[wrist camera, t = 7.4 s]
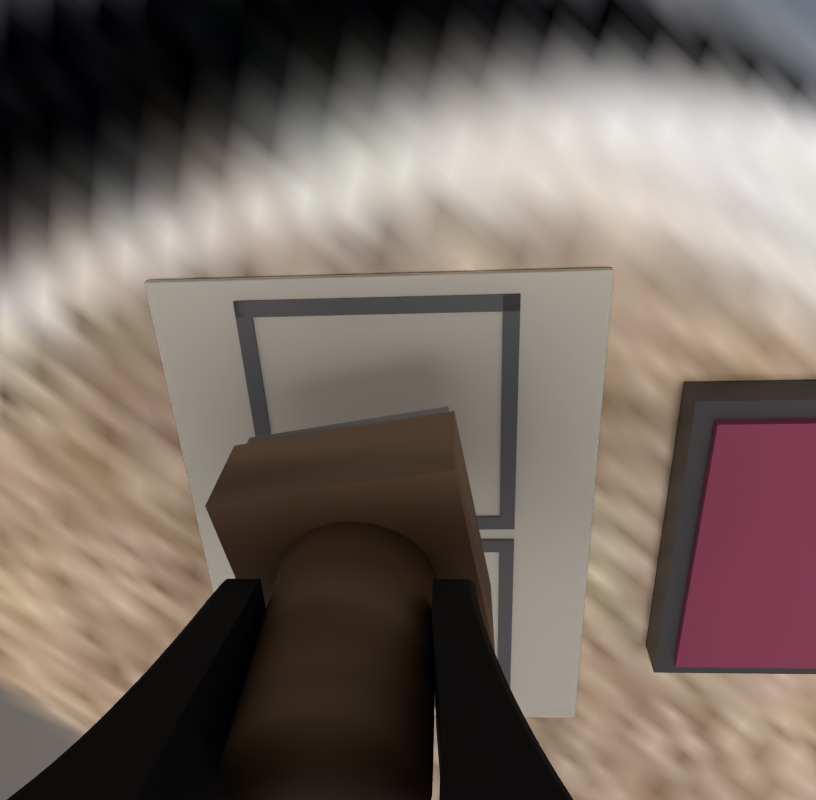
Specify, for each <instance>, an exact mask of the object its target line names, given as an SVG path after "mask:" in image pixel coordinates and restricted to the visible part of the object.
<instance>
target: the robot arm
mask: <svg viewBox="0 0 816 800" xmlns="http://www.w3.org/2000/svg"><path fill="white" fill-rule="evenodd" d="M265 612H266V607H265V601H264V596H263V590H262V585H261V579H226V580H225V581H224V582H223V583H222V584H221V585H220V586H219V587H218V588H217V590H216V591H215V592H214V593H213V594H212V596H211V597H210V598H209V599H208V600H207V602H206V603H205V604H204V605H203V607H202V608H201V609H200V610H199V611H198V613H197V614H196V615H195V616H194V617H193V619H192V620H191V621H190V622H189V623H188V625H187V626H186V627H185V628H184V629H183V631H182V632H181V633H180V634H179V635H178V636H177V638H176V639H175V640H174V641H173V642H172V643H171V644H170V646H169V647H168V648H167V649H166V650H165V651H164V652H163V654H162V655H161V656H160V657H159V658H158V659H157V660H156V661H155V663H154V664H153V665H152V666H151V667H150V668H149V669H148V670H147V672H146V673H145V674H144V675H143V676H142V677H141V678H140V679H139V680H138V681H137V682H136V683H135V684H134V685H133V686H132V687H131V688H130V689H129V690H128V691H127V693H126V694H125V695H124V696H123V697H122V698H121V699H120V700H119V701H118V702H117V703H116V704H115V705H114V706H113V707H112V708H111V709H110V710H109V711H108V712H107V713H106V714H105V715H104V716H103V717H102V718H101V719H100V720H99V721H98V722H97V723H96V724H95V725H94V726H93V727H92V728H91V729H90V730H89V731H87V732H86V733H85V734H84V735H83V736H82V737H81V738H80V739H79V740H78V741H77V742H76V743H74V744H73V745H72V746H71V747H70V748H69V749H68V750H67V751H65V752H64V753H63V754H62V755H61V756H60V757H59V758H58V759H57V760H55V761H54V762H53V763H52V764H51V765H50V766H49V767H47V768H46V769H45V770H44V771H42V772H41V773H40V774H39V775H37V777H35V778H34V779H33V780H31V781H30V782H29V783H28V784H26V785H25V786H24V787H23V788H21V789H20V790H19V791H17V792H16V793H15V794H14V795H12V796H11V797H10V798H9V799H7V800H229V799H228V798H227V796H226V795H225V793H224V790H223V788H222V786H221V782H220V777H219V767H220V762H221V758H222V755H223V751H224V748H225V745H226V741H227V738H228V735H229V731H230V728H231V725H232V722H233V718H234V715H235V712H236V708H237V705H238V702H239V698H240V695H241V692H242V688H243V685H244V682H245V678H246V675H247V672H248V669H249V665H250V662H251V659H252V655H253V652H254V649H255V645H256V642H257V639H258V635H259V632H260V629H261V625H262V622H263V619H264V616H265ZM431 615H432V639H433V661H434V677H435V710H436V728H437V742H438V755H439V768H440V800H573V798H572V797H571V795H570V794H569V792H568V791H567V789H566V787H565V786H564V784H563V783H562V781H561V780H560V778H559V777H558V775H557V773H556V772H555V770H554V768H553V767H552V765H551V763H550V762H549V760H548V758H547V757H546V755H545V753H544V752H543V750H542V748H541V747H540V745H539V743H538V741H537V740H536V738H535V736H534V734H533V732H532V730H531V729H530V727H529V725H528V723H527V721H526V719H525V717H524V715H523V713H522V711H521V709H520V707H519V705H518V703H517V701H516V699H515V697H514V695H513V693H512V691H511V689H510V687H509V685H508V682H507V680H506V678H505V675H504V673H503V671H502V669H501V666H500V664H499V662H498V659H497V657H496V655H495V652H494V650H493V647H492V644H491V642H490V639H489V636H488V633H487V630H486V627H485V624H484V621H483V618H482V615H481V611H480V608H479V604H478V599H477V594H476V587H475V584H474V583H473V582H472V581H471V580H469V579H433V591H432V607H431Z"/></svg>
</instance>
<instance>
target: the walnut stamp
mask: <svg viewBox="0 0 816 800" xmlns="http://www.w3.org/2000/svg"><path fill="white" fill-rule="evenodd" d="M205 507H206V509H207V512H208V514H209V517H210V519H211V521H212V524H213V526H214V528H215V531H216V533H217V535H218V538H219V540H220V543H221V545H222V547H223V550H224V552H225V554H226V557H227V559H228V561H229V564H230V566H231V569H232V571H233V573H234V576H235V578H236V579H261V585H262V590H263V596H264V601H265V607H266V612H265V616H264V619H263V622H262V625H261V629H260V632H259V635H258V639H257V642H256V645H255V649H254V652H253V655H252V659H251V662H250V665H249V669H248V672H247V675H246V678H245V682H244V685H243V688H242V692H241V695H240V698H239V702H238V705H237V708H236V712H235V715H234V718H233V722H232V725H231V728H230V731H229V735H228V738H227V741H226V745H225V748H224V751H223V755H222V758H221V762H220V767H219V777H220V782H221V786H222V788H223V790H224V793H225V795H226V796H227V798H228V799H229V800H431V797H432V782H433V743H434V705H435V677H434V661H433V639H432V615H431V607H432V591H433V579H469V580H471V581H472V582H473V583H474V584H475V587H476V594H477V599H478V604H479V608H480V611H481V615H482V618H483V621H484V624H485V627H486V630H487V633H488V636H489V639H490V642H491V644H492V647H493V650H494V652H495V644H494V628H493V612H492V597H491V584H490V579H489V574H488V569H487V565H486V560H485V555H484V550H483V546H482V541H481V536H480V531H479V527H478V522H477V517H476V512H475V507H474V503H473V498H472V493H471V488H470V484H469V479H468V474H467V469H466V465H465V460H464V455H463V450H462V445H461V441H460V436H459V431H458V426H457V422H456V417H455V412H454V411H451V412H449V408H448V406H446V407H440V408H434V409H427V410H421V411H415V412H408V413H402V414H396V415H389V416H383V417H377V418H370V419H364V420H358V421H351V422H345V423H339V424H332V425H326V426H320V427H313V428H307V429H301V430H295V431H288V432H282V433H276V434H269V435H263V436H257V437H250V438H249V440H248V442H247V444H241V445H235V446H234V447H233V449H232V451H231V453H230V455H229V457H228V460H227V462H226V464H225V466H224V468H223V470H222V472H221V474H220V476H219V478H218V480H217V482H216V484H215V487H214V489H213V491H212V493H211V495H210V497H209V499H208V501H207V503H206V505H205Z"/></svg>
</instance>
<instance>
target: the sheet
mask: <svg viewBox="0 0 816 800" xmlns="http://www.w3.org/2000/svg"><path fill="white" fill-rule="evenodd" d="M613 273H614V270H613V268H612V267H610V268H573V269H537V270H500V271H464V272H428V273H391V274H355V275H318V276H282V277H245V278H209V279H173V280H147V281H146V282H145V283H144V284H145V289H146V293H147V298H148V302H149V307H150V311H151V316H152V320H153V324H154V329H155V333H156V338H157V342H158V347H159V351H160V356H161V360H162V365H163V369H164V374H165V378H166V383H167V387H168V391H169V396H170V400H171V405H172V409H173V414H174V418H175V423H176V427H177V432H178V436H179V441H180V445H181V450H182V454H183V459H184V463H185V467H186V472H187V476H188V481H189V485H190V490H191V494H192V499H193V503H194V508H195V512H196V517H197V521H198V526H199V530H200V535H201V539H202V543H203V548H204V552H205V557H206V561H207V566H208V570H209V575H210V579H211V584H212V588H213V593H214V592H215V591H216V590H217V588H218V587H219V586H220V585H221V584H222V583H223V582H224V581H225V580H226V579H236V578H235V576H234V573H233V571H232V569H231V566H230V564H229V561H228V559H227V557H226V554H225V552H224V550H223V547H222V545H221V543H220V540H219V538H218V535H217V533H216V531H215V528H214V526H213V524H212V521H211V519H210V517H209V514H208V512H207V509H206V507H205V505H206V503H207V501H208V499H209V497H210V495H211V493H212V491H213V489H214V487H215V484H216V482H217V480H218V478H219V476H220V474H221V472H222V470H223V468H224V466H225V464H226V462H227V460H228V457H229V455H230V453H231V451H232V449H233V447H234V446H235V445H241V444H247V442H248V440H249V438H250V437H257V436H263V435H269V434H276V433H282V432H288V431H295V430H301V429H307V428H313V427H320V426H326V425H332V424H339V423H345V422H351V421H358V420H364V419H370V418H377V417H383V416H389V415H396V414H402V413H408V412H415V411H421V410H427V409H434V408H440V407H446V406H448V408H449V412H451V411H454V412H455V417H456V422H457V426H458V431H459V436H460V441H461V445H462V450H463V455H464V460H465V465H466V469H467V474H468V479H469V484H470V488H471V493H472V498H473V503H474V507H475V512H476V517H477V522H478V527H479V531H480V536H481V541H482V546H483V550H484V555H485V560H486V565H487V569H488V574H489V579H490V584H491V597H492V612H493V628H494V644H495V655H496V657H497V659H498V662H499V664H500V666H501V669H502V671H503V673H504V675H505V678H506V680H507V682H508V685H509V687H510V689H511V691H512V693H513V695H514V697H515V699H516V701H517V703H518V705H519V707H520V709H521V711H522V713H523V715H524V717H551V718H575V708H576V696H577V685H578V674H579V662H580V651H581V639H582V628H583V616H584V605H585V593H586V582H587V571H588V559H589V548H590V536H591V525H592V513H593V502H594V491H595V479H596V468H597V456H598V445H599V433H600V422H601V411H602V399H603V388H604V376H605V365H606V353H607V342H608V330H609V319H610V308H611V296H612V285H613ZM434 716H436V710H435V705H434Z"/></svg>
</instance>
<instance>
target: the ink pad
mask: <svg viewBox="0 0 816 800" xmlns="http://www.w3.org/2000/svg"><path fill="white" fill-rule="evenodd" d="M646 648H647V651H648V654H649V658H650V661H651V664H652V668H653V671H654V672H668V673H768V674H816V380H793V381H733V382H684V387H683V394H682V401H681V408H680V415H679V422H678V429H677V436H676V443H675V449H674V456H673V463H672V470H671V477H670V484H669V491H668V498H667V505H666V512H665V519H664V526H663V532H662V539H661V546H660V553H659V560H658V567H657V574H656V581H655V588H654V595H653V602H652V609H651V616H650V622H649V629H648V636H647V643H646Z"/></svg>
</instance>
